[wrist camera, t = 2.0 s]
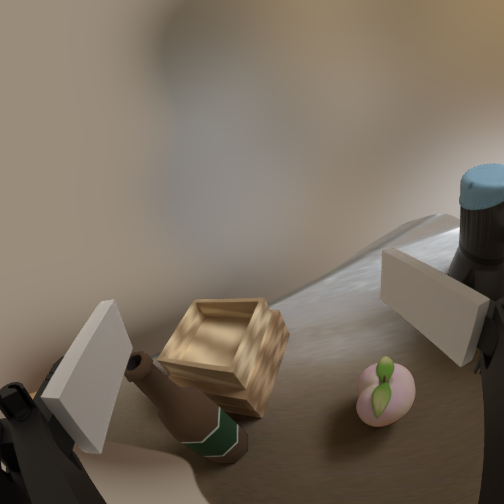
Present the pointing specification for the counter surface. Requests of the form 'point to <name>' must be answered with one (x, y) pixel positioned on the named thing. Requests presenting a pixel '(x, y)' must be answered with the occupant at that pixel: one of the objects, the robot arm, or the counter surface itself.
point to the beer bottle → (188, 413)
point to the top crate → (218, 341)
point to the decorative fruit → (384, 393)
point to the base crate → (261, 379)
